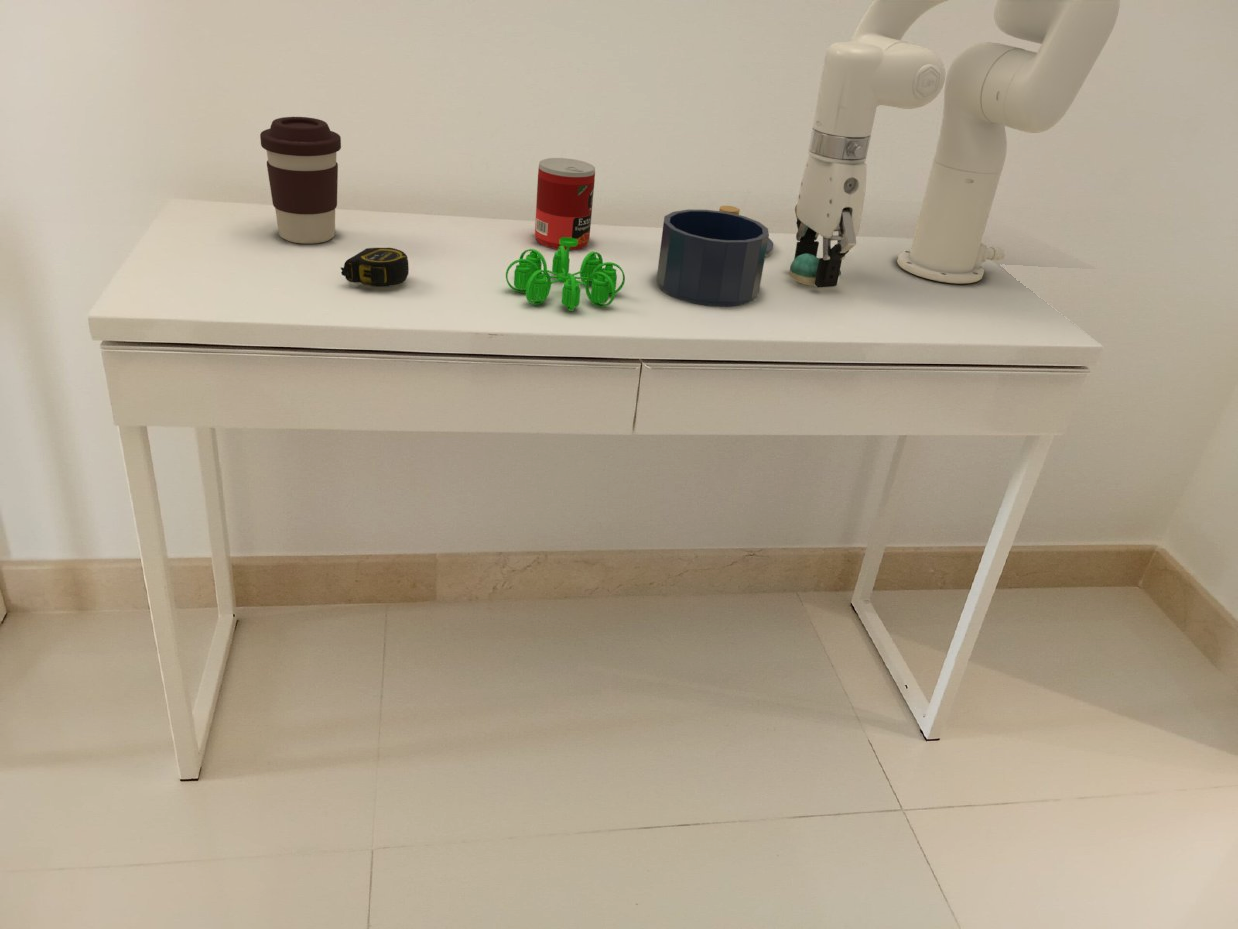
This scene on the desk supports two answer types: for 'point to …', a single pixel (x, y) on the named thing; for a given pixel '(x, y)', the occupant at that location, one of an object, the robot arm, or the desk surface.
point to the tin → (711, 257)
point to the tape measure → (377, 267)
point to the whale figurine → (805, 269)
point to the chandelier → (565, 276)
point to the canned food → (564, 201)
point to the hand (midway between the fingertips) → (814, 276)
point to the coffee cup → (303, 177)
